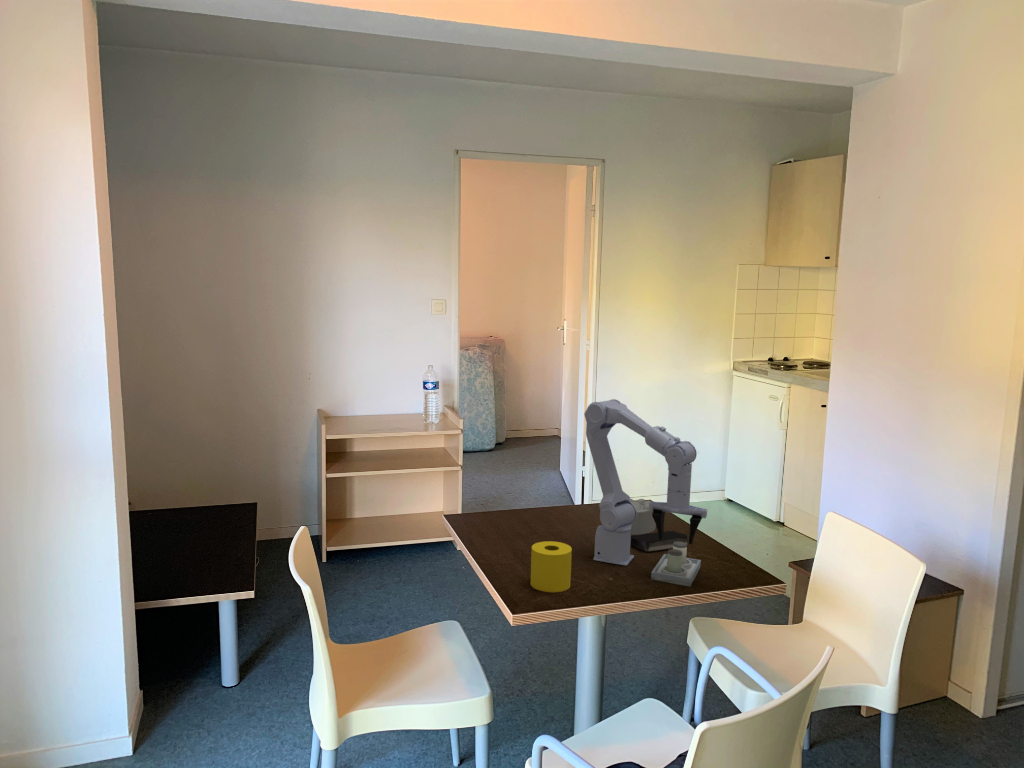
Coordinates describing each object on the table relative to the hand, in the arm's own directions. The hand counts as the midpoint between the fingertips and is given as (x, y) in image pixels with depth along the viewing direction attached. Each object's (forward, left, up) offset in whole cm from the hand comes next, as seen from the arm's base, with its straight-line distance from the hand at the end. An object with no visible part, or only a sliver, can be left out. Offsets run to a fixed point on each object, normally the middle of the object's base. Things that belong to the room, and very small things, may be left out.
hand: (675, 540), depth 194 cm
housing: (0, +3, -10) cm, 10 cm away
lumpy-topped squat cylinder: (-19, +37, -10) cm, 43 cm away
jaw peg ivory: (0, +7, -9) cm, 11 cm away
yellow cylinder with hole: (-27, -19, -10) cm, 35 cm away
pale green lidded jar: (0, 0, -9) cm, 9 cm away
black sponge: (-9, +23, -10) cm, 26 cm away
